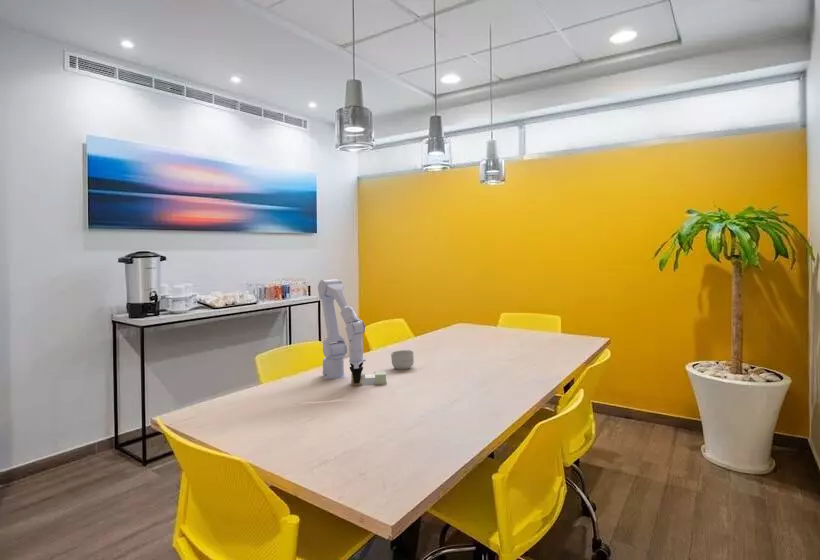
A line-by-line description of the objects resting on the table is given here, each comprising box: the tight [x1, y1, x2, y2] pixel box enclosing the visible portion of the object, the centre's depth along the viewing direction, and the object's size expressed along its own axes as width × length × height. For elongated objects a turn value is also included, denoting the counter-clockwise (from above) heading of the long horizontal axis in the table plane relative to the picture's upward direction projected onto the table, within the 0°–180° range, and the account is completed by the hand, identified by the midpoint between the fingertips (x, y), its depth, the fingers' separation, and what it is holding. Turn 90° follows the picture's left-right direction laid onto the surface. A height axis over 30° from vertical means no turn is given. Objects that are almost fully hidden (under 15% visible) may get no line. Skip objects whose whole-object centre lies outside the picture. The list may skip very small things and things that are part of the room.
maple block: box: [350, 372, 363, 385], centre depth 201 cm, size 4×4×4 cm
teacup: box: [390, 349, 415, 371], centre depth 227 cm, size 14×11×8 cm
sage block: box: [374, 371, 387, 385], centre depth 202 cm, size 4×4×4 cm
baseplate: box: [350, 373, 388, 387], centre depth 207 cm, size 15×17×1 cm
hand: (357, 381), depth 201 cm, fingers open, 6 cm apart
